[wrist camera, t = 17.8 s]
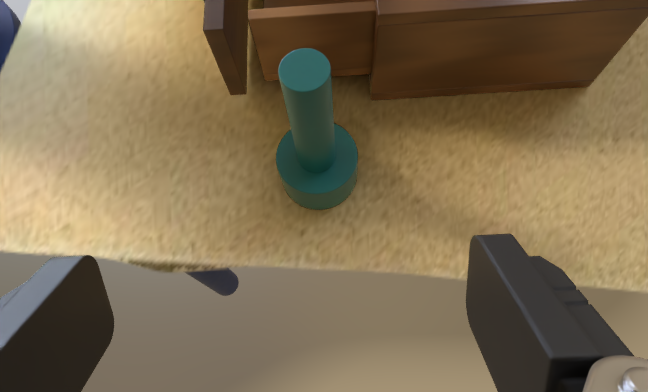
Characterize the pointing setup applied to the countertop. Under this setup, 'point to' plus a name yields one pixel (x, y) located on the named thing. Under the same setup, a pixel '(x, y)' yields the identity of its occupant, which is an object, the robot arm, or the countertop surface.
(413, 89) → the cabinet
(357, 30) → the drawer
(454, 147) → the countertop surface
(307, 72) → the teal flanged rod post
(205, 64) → the countertop surface
